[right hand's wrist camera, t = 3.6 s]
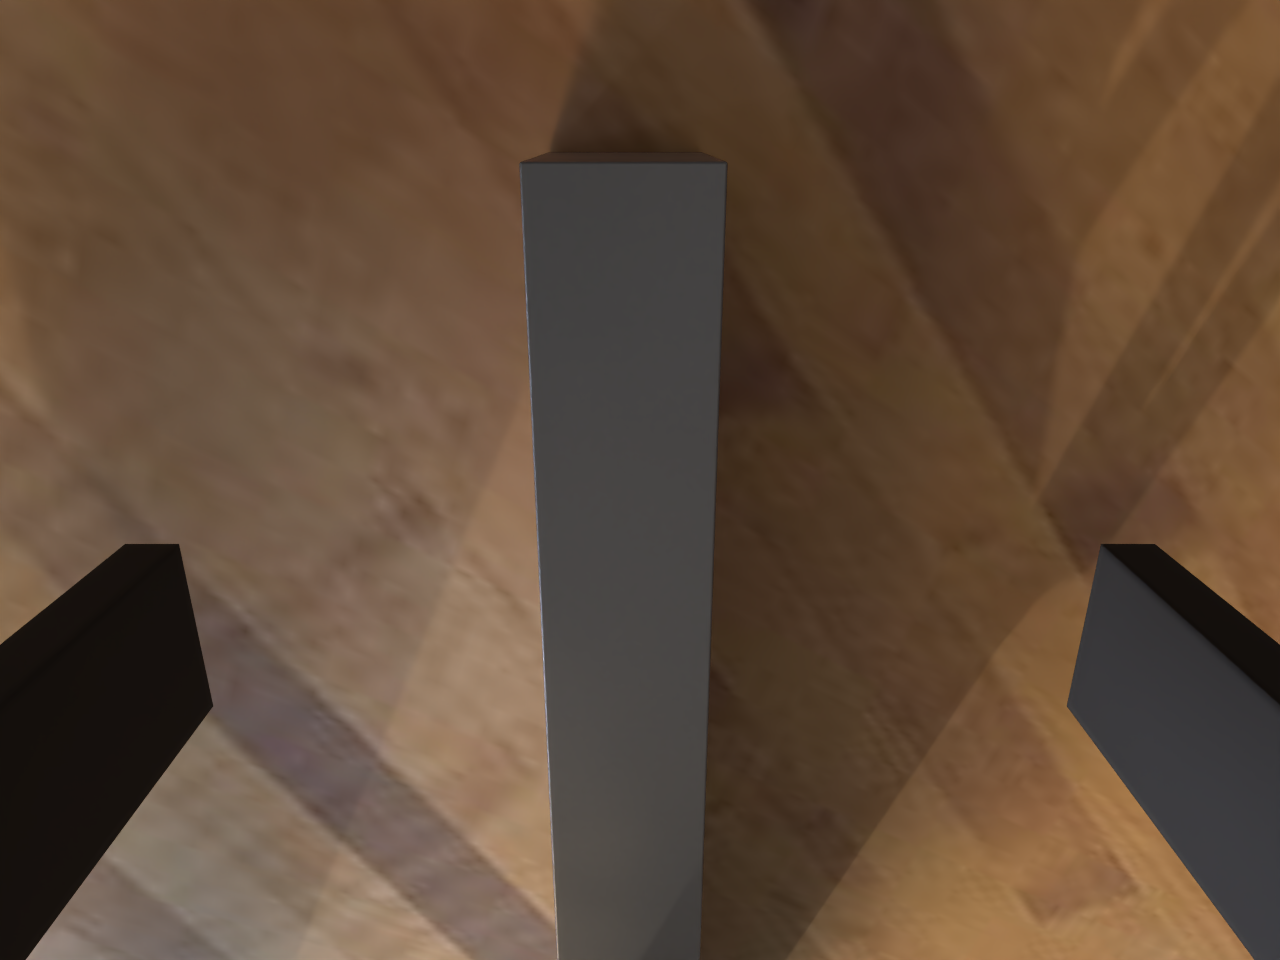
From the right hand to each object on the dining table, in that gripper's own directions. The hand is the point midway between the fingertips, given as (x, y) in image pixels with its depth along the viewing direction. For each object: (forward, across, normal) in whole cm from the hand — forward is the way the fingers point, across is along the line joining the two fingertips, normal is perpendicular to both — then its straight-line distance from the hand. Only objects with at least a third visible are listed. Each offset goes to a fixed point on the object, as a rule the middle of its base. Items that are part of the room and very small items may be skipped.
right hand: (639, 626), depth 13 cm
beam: (+22, 0, -19) cm, 29 cm away
